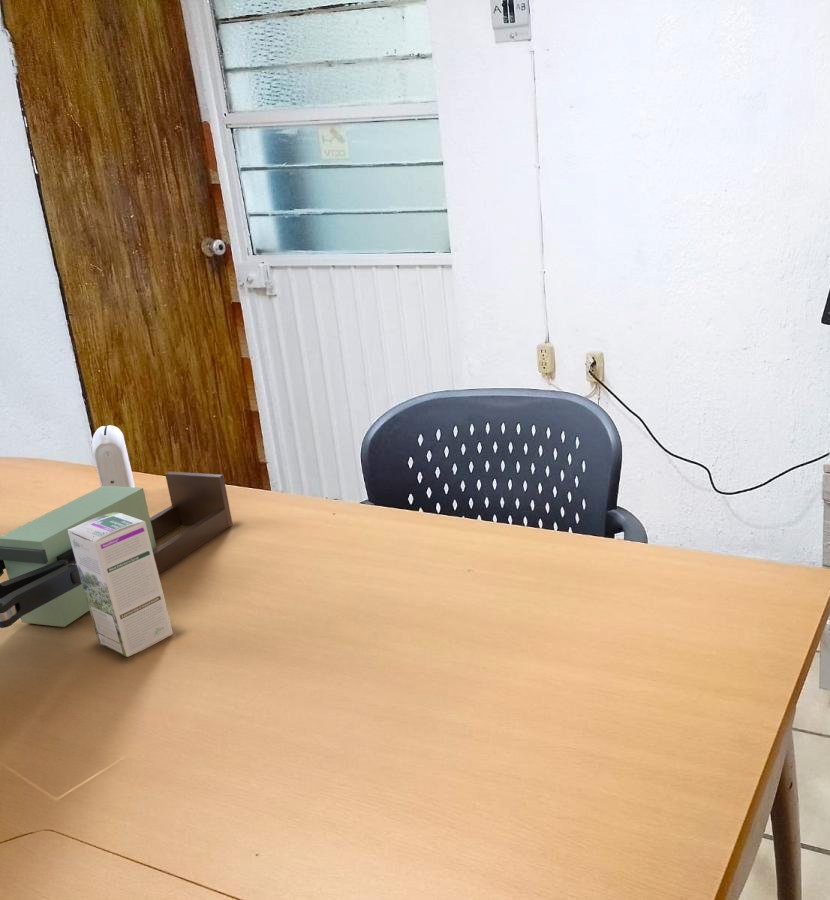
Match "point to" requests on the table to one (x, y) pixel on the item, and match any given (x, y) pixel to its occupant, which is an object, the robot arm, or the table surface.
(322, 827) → the table surface
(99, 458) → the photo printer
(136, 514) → the container
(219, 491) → the rack
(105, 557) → the syrup box
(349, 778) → the table surface
